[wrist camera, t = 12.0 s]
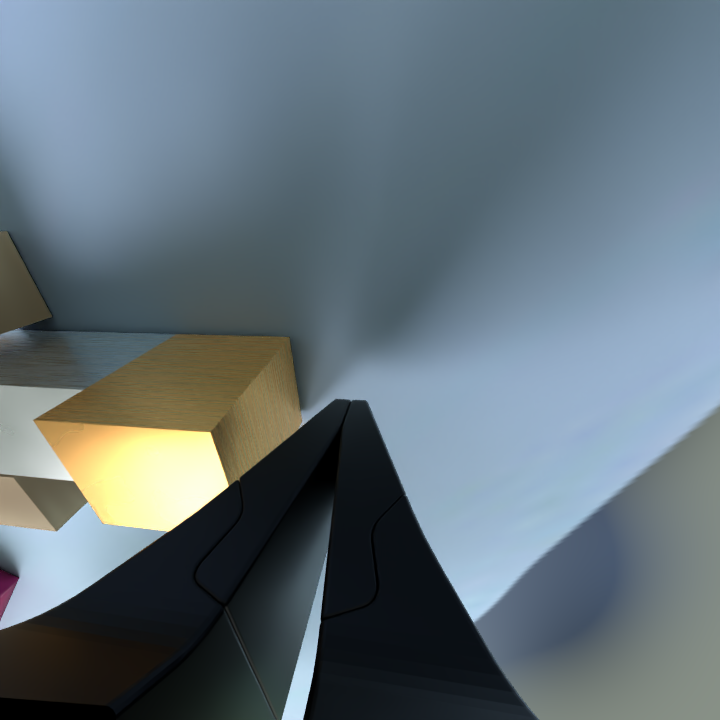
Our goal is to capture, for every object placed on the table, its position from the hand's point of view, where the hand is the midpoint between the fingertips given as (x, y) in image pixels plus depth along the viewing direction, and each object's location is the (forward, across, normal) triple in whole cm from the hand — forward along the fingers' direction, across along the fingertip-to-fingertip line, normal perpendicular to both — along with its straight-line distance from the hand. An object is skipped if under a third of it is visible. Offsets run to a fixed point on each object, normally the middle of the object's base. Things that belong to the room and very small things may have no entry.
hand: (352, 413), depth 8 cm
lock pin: (+1, +7, 0) cm, 7 cm away
